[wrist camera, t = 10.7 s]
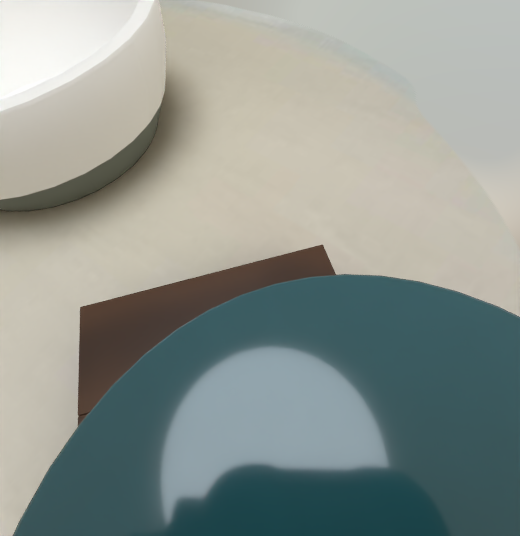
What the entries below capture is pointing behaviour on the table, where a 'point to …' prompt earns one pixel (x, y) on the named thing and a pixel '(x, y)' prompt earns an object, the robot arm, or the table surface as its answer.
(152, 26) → the bowl
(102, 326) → the display base
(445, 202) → the table surface
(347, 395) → the lidded canister
